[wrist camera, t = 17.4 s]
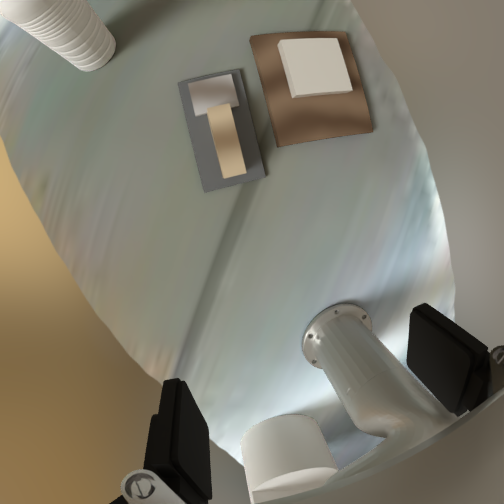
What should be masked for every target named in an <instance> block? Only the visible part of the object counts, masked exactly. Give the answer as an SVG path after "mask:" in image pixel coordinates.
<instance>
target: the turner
mask: <svg viewBox="0 0 504 504" xmlns="http://www.w3.org/2000/svg"><path fill="white" fill-rule="evenodd" d="M188 86H189V91H190V95H191V99H192V103H193V108H194V112H195V116H196V117H197V116H201V115H205V114H207V116H208V120H209V124H210V128H211V132H212V136H213V140H214V144H215V148H216V152H217V156H218V160H219V164H220V168H221V172H222V176H223V178H224V179H225V178H229V177H233V176H237V175H241V174H245V173H247V172H246V168H245V164H244V160H243V156H242V152H241V148H240V144H239V139H238V135H237V131H236V127H235V123H234V119H233V115H232V111H231V108H235V107H239V102H238V99H237V95H236V91H235V87H234V83H233V79H232V75H231V74H228V75H223V76H218V77H214V78H209V79H205V80H200V81H196V82H192V83H188Z"/></svg>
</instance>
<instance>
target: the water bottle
mask: <svg viewBox="0 0 504 504" xmlns="http://www.w3.org/2000/svg"><path fill="white" fill-rule="evenodd" d="M0 14H1V15H2V16H3V17H4V18H6V19H7V20H9V21H11V22H13V23H15V24H16V25H17V26H19V27H20V28H22V29H23V30H25V31H27V32H28V33H29V34H31V35H32V36H34V37H35V38H37V39H38V40H39V41H41V42H42V43H43V44H45V45H47V46H48V47H49V48H51V49H52V50H54V51H55V52H56V53H58V54H60V55H61V56H62V57H63V58H65V59H67V60H68V61H69V62H70V63H72V64H73V65H74V66H76V67H77V68H79V69H80V70H82V71H94V70H96V69H98V68H101V67H102V66H104V65H105V64H106V63H107V62H108V61H109V59H111V57H112V56H113V54H114V52H115V47H116V42H115V39H114V37H113V35H112V34H111V33H110V32H109V31H108V29H107V28H106V26H105V25H104V24H103V22H102V21H101V20H100V18H99V17H98V15H97V14H96V13H95V11H94V10H93V9H92V7H91V6H90V5H89V3H88V2H87V0H0Z"/></svg>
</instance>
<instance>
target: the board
mask: <svg viewBox="0 0 504 504" xmlns="http://www.w3.org/2000/svg"><path fill="white" fill-rule="evenodd" d="M305 38H337V40H338V43H339V46H340V49H341V52H342V55H343V58H344V62H345V65H346V68H347V72H348V75H349V79H350V82H351V86H352V91H350V92H348V93H341V94H328V95H317V96H308V97H299V98H292V96H291V92H290V88H289V85H288V81H287V77H286V74H285V70H284V66H283V63H282V59H281V56H280V52H279V49H278V46H277V45H278V43H279V42H280V40H287V39H305ZM249 41H250V44H251V48H252V51H253V55H254V58H255V62H256V65H257V69H258V73H259V76H260V80H261V84H262V88H263V92H264V95H265V99H266V103H267V107H268V111H269V115H270V119H271V123H272V127H273V131H274V136H275V140H276V144H277V147H282V146H287V145H292V144H298V143H303V142H309V141H315V140H321V139H327V138H334V137H341V136H348V135H355V134H363V133H371V132H373V128H372V124H371V119H370V115H369V111H368V106H367V102H366V98H365V95H364V91H363V87H362V83H361V80H360V76H359V73H358V69H357V66H356V63H355V60H354V56H353V53H352V50H351V47H350V44H349V41H348V38H347V36H346V33H345V32H336V31H310V32H287V33H274V34H263V35H254V36H251V37H250V40H249Z"/></svg>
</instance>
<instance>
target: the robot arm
mask: <svg viewBox="0 0 504 504" xmlns="http://www.w3.org/2000/svg"><path fill="white" fill-rule="evenodd" d="M487 350H488V347H487V346H486V345H484V344H483V343H482V342H480V341H479V340H478V339H476V338H475V337H474V336H472V335H471V334H469V333H468V332H467V331H465V330H464V329H462V328H461V327H460V326H458V325H457V324H455V323H454V322H453V321H451V320H450V319H449V318H447V317H446V316H444V315H443V314H441V313H440V312H439V311H437V310H436V309H434V308H433V307H431V306H430V305H428V304H427V303H423V304H421V305H418V306H416V307H414V308H413V310H412V312H411V314H410V324H409V339H408V350H407V365H408V367H409V369H410V370H411V371H412V372H413V373H414V374H415V375H416V376H417V377H418V378H419V379H420V380H421V381H422V383H423V384H424V385H425V386H426V387H427V388H428V389H429V390H430V391H431V392H432V393H433V395H434V396H435V397H436V398H437V399H438V400H439V401H440V402H441V403H440V402H439V401H438V400H437V399H436V398H434V397H433V396H432V395H431V394H430V393H429V392H428V391H427V390H426V389H425V388H424V387H423V386H422V385H421V384H420V383H419V382H418V381H417V380H416V379H415V378H414V377H413V376H412V375H411V373H410V372H409V371H408V370H407V369H406V368H405V367H404V366H403V365H402V364H401V363H400V361H399V360H398V359H397V358H396V357H395V356H394V355H393V354H392V353H391V352H390V351H389V350H388V349H387V348H386V346H385V345H384V344H383V343H382V342H381V341H380V340H379V339H378V338H377V337H376V336H375V335H374V334H373V333H372V322H371V319H370V317H369V315H368V314H367V312H365V311H364V310H363V309H362V308H361V307H359V306H357V305H354V304H347V303H346V304H338V305H335V306H332V307H330V308H328V309H326V310H324V311H323V312H321V313H320V314H318V315H317V316H316V317H315V318H314V319H313V320H312V321H311V323H310V324H309V325H308V327H307V329H306V330H305V333H304V335H303V339H302V351H303V354H304V356H305V358H306V360H307V361H308V362H309V363H310V364H311V365H313V366H314V367H317V368H319V369H323V370H324V372H325V374H326V376H327V377H328V379H329V381H330V383H331V384H332V386H333V388H334V390H335V392H336V393H337V395H338V397H339V399H340V400H341V402H342V404H343V406H344V407H345V409H346V411H347V413H348V414H349V416H350V418H351V420H352V421H353V423H354V424H355V425H356V427H358V428H359V429H360V430H361V431H363V432H365V433H367V434H370V435H373V436H377V437H383V438H386V439H385V440H384V441H382V442H381V443H380V444H379V445H377V446H376V447H375V448H374V449H372V450H371V451H369V452H368V453H366V454H365V455H363V456H362V457H360V458H359V459H357V460H356V461H354V462H352V463H351V464H349V465H348V466H346V467H345V468H343V469H341V470H340V471H338V472H337V473H335V474H334V475H332V476H331V477H330V478H329V479H328V480H327V481H326V482H325V483H324V485H323V486H322V487H319V488H316V489H312V490H309V491H305V492H302V493H298V494H295V495H291V496H287V497H283V498H278V499H274V500H270V501H265V502H261V503H256V504H504V345H501V346H497V347H495V348H494V349H493V350H491V352H490V353H489V352H488V351H487ZM467 409H468V410H469V411H470V412H469V413H468V414H466V415H465V416H463V417H462V418H460V417H459V416H460V415H462V414H463V413H465V412H466V411H467ZM209 449H210V448H209V429H208V426H207V423H206V421H205V419H204V417H203V416H202V414H201V412H200V410H199V408H198V406H197V404H196V402H195V400H194V398H193V396H192V394H191V392H190V390H189V388H188V386H187V384H186V382H185V381H181V380H180V379H179V378H175V379H169V380H165V381H164V382H163V388H162V393H161V400H160V405H159V412H158V414H155V415H153V416H152V418H151V423H150V428H149V434H148V441H147V447H146V453H145V461H144V467H143V469H140V470H136V471H133V472H131V473H129V474H128V475H127V476H126V477H125V478H124V479H123V481H122V483H121V492H122V495H121V496H120V497H118V498H117V499H115V500H114V501H113V502H111V503H110V504H208V500H211V499H212V484H211V469H210V450H209Z"/></svg>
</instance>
